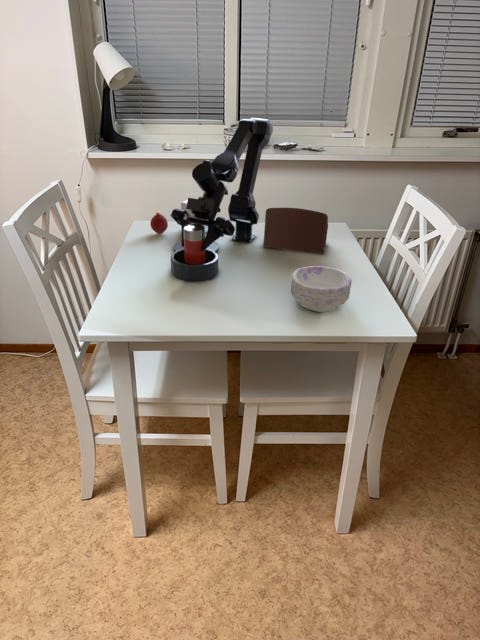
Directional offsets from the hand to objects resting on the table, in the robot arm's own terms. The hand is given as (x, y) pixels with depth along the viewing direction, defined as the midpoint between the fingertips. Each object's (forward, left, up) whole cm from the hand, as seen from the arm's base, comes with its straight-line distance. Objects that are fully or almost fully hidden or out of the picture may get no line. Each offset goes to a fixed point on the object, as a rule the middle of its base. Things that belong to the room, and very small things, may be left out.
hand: (192, 248), depth 139 cm
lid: (-17, -7, -7) cm, 20 cm away
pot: (-1, 0, -8) cm, 8 cm away
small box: (-32, -14, -8) cm, 36 cm away
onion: (-24, -24, -8) cm, 35 cm away
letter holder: (-33, +22, -8) cm, 41 cm away
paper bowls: (+4, +38, -8) cm, 39 cm away
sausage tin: (-1, 0, -7) cm, 7 cm away
